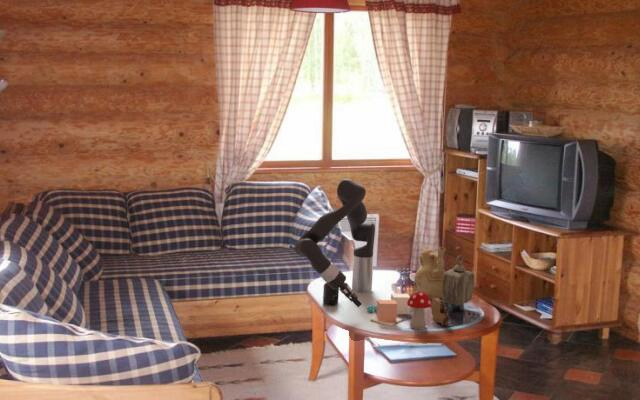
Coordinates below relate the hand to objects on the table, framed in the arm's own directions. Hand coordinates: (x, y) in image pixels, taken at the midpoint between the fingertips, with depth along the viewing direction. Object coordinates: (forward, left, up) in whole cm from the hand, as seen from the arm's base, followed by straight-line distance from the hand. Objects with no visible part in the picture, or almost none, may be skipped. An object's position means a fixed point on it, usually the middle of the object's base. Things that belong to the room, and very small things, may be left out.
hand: (358, 302), depth 308 cm
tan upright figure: (-55, +7, -8) cm, 56 cm away
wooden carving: (-21, +27, -8) cm, 36 cm away
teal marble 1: (-14, -2, -8) cm, 16 cm away
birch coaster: (-8, +9, -8) cm, 15 cm away
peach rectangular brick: (-8, +9, -7) cm, 14 cm away
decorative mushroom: (-9, +23, -8) cm, 26 cm away
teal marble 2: (-16, +1, -8) cm, 18 cm away
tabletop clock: (-42, +26, -8) cm, 50 cm away
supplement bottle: (-12, -21, -8) cm, 26 cm away
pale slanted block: (-22, +8, -8) cm, 25 cm away
